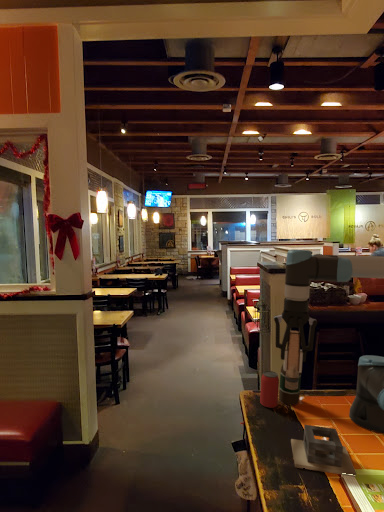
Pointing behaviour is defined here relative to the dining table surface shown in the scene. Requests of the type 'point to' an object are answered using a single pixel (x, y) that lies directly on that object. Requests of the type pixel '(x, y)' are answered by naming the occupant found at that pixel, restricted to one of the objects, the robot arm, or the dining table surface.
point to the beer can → (269, 389)
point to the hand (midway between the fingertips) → (292, 370)
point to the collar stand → (321, 451)
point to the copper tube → (293, 360)
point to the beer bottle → (288, 390)
